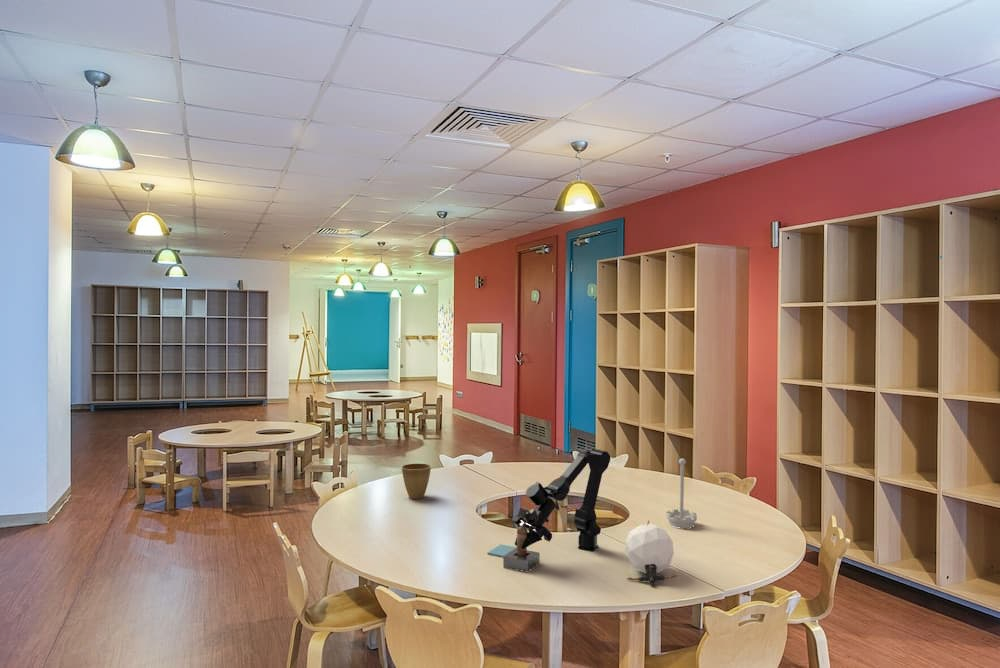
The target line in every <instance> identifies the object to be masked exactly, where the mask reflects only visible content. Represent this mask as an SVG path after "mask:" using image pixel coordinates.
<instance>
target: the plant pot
mask: <svg viewBox="0 0 1000 668" xmlns="http://www.w3.org/2000/svg"><path fill="white" fill-rule="evenodd" d="M431 469H432V466H431V464H427V463H418V462H417V463H409V464H408V463H407V464H404V465H402V466H401V473H402V477H403V482H404V487H405V490H406V493H407V495H408V498H409V499H412V500H420V499H423V498H425V494H426V491H427V488H428V484H429V481H430V476H431V475H430V474H431Z"/></svg>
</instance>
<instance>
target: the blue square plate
mask: <svg viewBox="0 0 1000 668" xmlns="http://www.w3.org/2000/svg"><path fill="white" fill-rule="evenodd" d="M515 548H517V546H511V545H507V544H501V543H500V544H498V545H497V546H496V547H495V548H493V549H491V550H490V551H489V550H488V552H486V553H487V555H489V556H495V557H500V558H503V556H505V555H506V554H508V553H509V552H510V551H512V550H513V549H515Z"/></svg>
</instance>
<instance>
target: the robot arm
mask: <svg viewBox="0 0 1000 668" xmlns="http://www.w3.org/2000/svg"><path fill="white" fill-rule="evenodd" d="M610 462H611V455H610V453H609V452H608V451H605V450H601V449H597V448H594V449H592V450H589V451H588V450H586V451H579V452H578V453H577V455H576V457H575V458H574V460H572V462H571V463H570V465H569V466H568V467H567V468H566V469H565V471H564V472H563V473H562V475H560V476H559V477H557V478H555V479H553V480H552V481H551V482H550V483H549V484H547V486H544V487H543V485H542V483H541V482H537V481H536V482H535V483H533V484H531V485H530V486H528V488H527V489H526V491H525V495H526V497H527V498H528V499H529V500H530V501H531V502H532V503H533V504H534V505H535V506H536V508H532V509H530V510H528V509H525V508H523V507H519V510H518V513H517V514H516V515H514V516H512V519H511V521H512V522H513V523H514V524H515V525H516V526H517V528H518V527H520V526H524V527H525V528H526V529H527V538H526V539H525V541H524V543H523V544H522V546H521V548H522V549H524V548H526V547H527V548H528V547H529V546H531V545H534V544H535V543H537V542H539V541H543V539H544V541H546V542H551V540H552V539H553V533H552V532H551V531H550V530H549V529H548V528H547V527H546V526H544V524H546V523H547V524H548V523H549V521H550V520H549V517H550V516H551V514H552V513H553V511H554V510H556V511H559V510H560V506H559V501H560V502H561V501H564V500H565V499H566V497H567V496H568V494H569V493H570V492H571V491H570V489H571V485H573V483H574V481H575V480H576V479H577V477H578V476H580V474H581V472H582V471H583V470H584V469H585V468H586V466H587V465H588V466H589V467H588V468H589V475H588V479H587V484H586V489H585V492H584V496H583V502H582V504H581V506H580V508H579V509H578V508H576V509H575V513H574V516H573V523H574V526H575V527H576V531H579V535H578V546H577V547H578V548H577V549H579V550H584V551H585V550H586V551H590V552H594V551H595V550H596V549H597V548H598V547H599V544H598V535H600V534H601V531H602V529H601V527H600V526H599V525H598V523H597V514H596V511H595V509H596V504H597V500H598V495H599V490H600V485H601V482H602V478H603V474H604V472H605V471H607V469H608V467H609V465H610ZM555 500H556V501H558V502H556V501H555ZM515 538H516V539H515V541H514V545H515V547H517V537H515Z"/></svg>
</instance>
